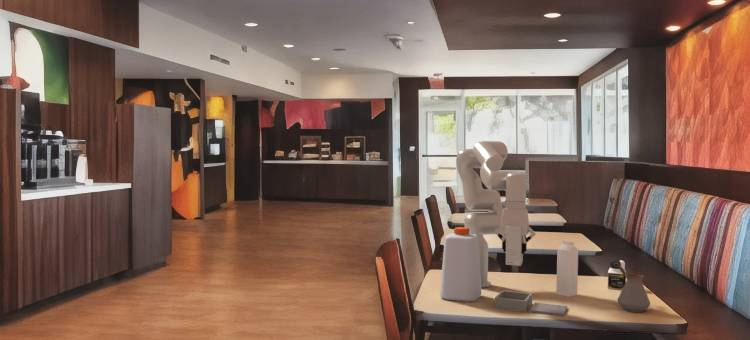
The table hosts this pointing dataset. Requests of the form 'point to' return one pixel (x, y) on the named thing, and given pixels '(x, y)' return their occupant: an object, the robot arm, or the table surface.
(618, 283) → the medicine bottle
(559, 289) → the milk
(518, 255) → the skincare box
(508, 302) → the bin
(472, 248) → the plastic bottle
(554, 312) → the pad
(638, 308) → the coffee pot
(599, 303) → the table surface
